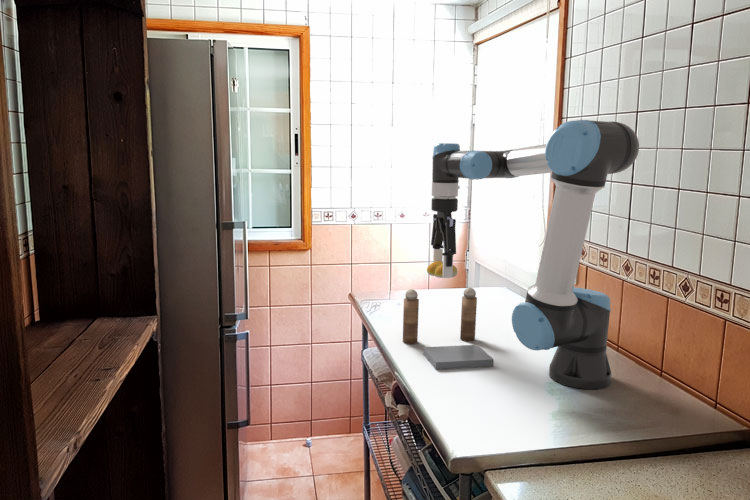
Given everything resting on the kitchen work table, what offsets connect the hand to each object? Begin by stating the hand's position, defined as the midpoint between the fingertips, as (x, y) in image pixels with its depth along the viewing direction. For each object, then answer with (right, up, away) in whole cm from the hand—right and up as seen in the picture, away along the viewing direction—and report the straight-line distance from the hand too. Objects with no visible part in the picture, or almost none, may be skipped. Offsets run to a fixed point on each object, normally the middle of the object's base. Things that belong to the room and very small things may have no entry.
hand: (442, 273), depth 182 cm
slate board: (+3, -23, -13) cm, 27 cm away
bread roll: (0, -1, 0) cm, 1 cm away
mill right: (+8, -20, +6) cm, 22 cm away
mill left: (-9, -20, +2) cm, 22 cm away
